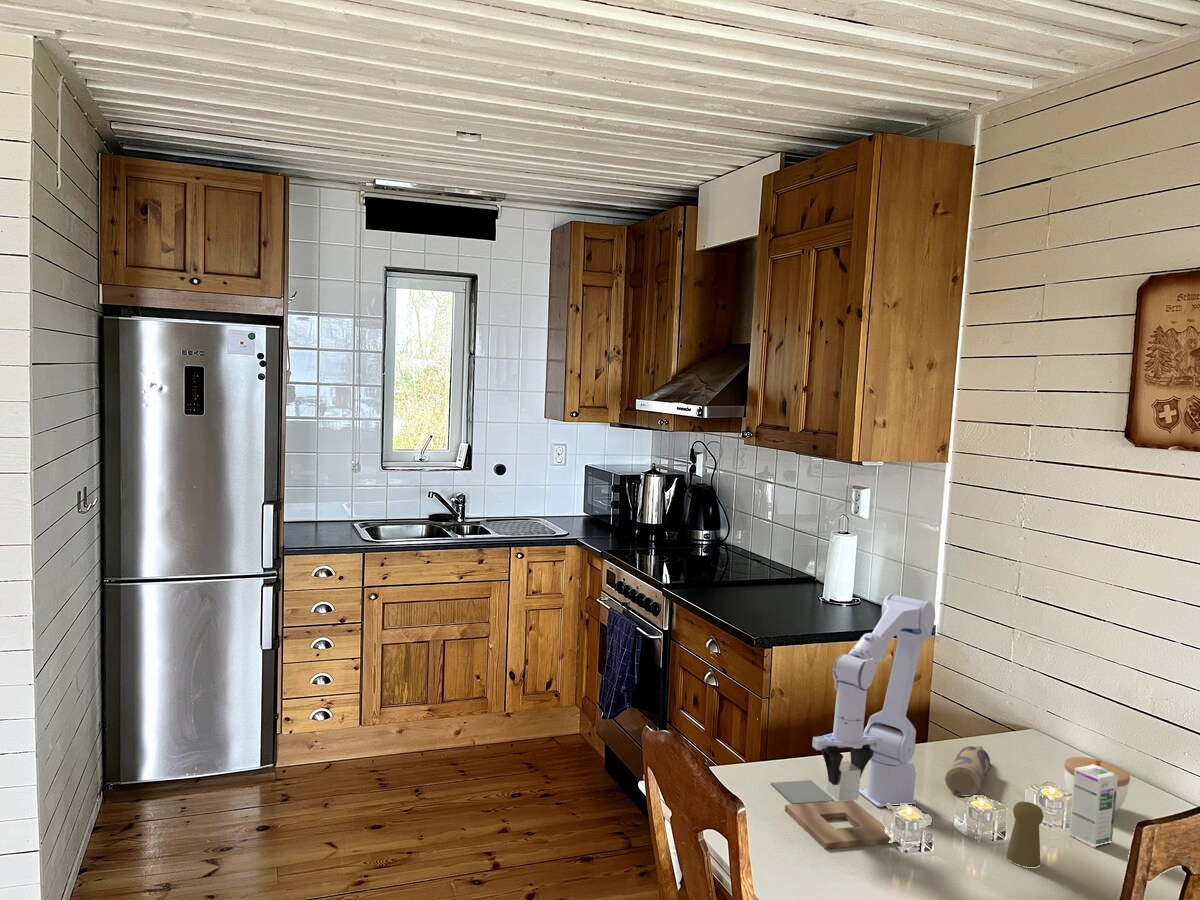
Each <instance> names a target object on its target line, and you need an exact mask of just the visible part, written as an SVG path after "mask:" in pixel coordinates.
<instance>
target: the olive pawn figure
mask: <svg viewBox="0 0 1200 900" xmlns="http://www.w3.org/2000/svg"><path fill="white" fill-rule="evenodd" d="M1012 813H1013V817H1014V819H1015V820H1014V824H1013V828H1012V831H1011V835H1010V839H1009V843H1008V845H1007V846H1008V847H1007V852H1006V855H1007V858H1008V859H1009V860H1011V861H1012V862H1014V863H1016V864H1019V865H1021V866H1025V867H1026V866H1027V867H1037V866H1039V865H1040V864H1041V842H1040V841H1041V840H1040V839H1041V838H1040V825H1041V824H1042V822H1043V821H1044V812H1043V810H1042V808H1041V807H1040V806H1039V805H1037V804H1034V803H1032V802H1029V801H1019V802H1018V801H1017V803H1015V805H1014V806H1013V810H1012ZM1006 855H1005V856H1006ZM1007 858H1006V859H1007ZM1008 859H1007V860H1008ZM1009 860H1008V861H1009Z"/></svg>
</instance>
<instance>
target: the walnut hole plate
mask: <svg viewBox="0 0 1200 900" xmlns="http://www.w3.org/2000/svg"><path fill="white" fill-rule="evenodd" d="M784 811H785V812H786V813H787V814H788V815H789V816H790V817H791V818H792V819H793V820H794V821H795V822H796V823H797V824H798V825H799V826H800V827H801V828H802V829H804V831H805V832H806V833H808V835H810V836H811V837H812V838H813V839H814V840H815V841H816V842H817V843H818V844H819V845H820V844H821V845H822V846H823V847H824V848H823V847H822V848H823V849H824V850H831V849H830V848H833V849H841V847H845V848H852V847H851V846H856V847H863V846H862V845H867V846H872V845H871V844H879V845H886V844H885V843H888V842H889V840H890V837H889V836H888V835H887V834H885V831H884V830H885V827H886V826H885V825H884V824H883V823H882V822H880V821H879V820H878V819H877V818H876V817H874V816H873V815H871V813H869V812H868V811H867V810H866V809H865V808H863V807H862V806H860V805H859V804H858V803H857V802H856V801H855V800H842V801H838V800H837V801H836V800H835V801H832V802H817V803H803V804H791V803H790V804H784ZM833 818H840V819H845V820H846V819H847V820H848V821H849V822H850V825H852V826H851V827H850V826H849V827H840V828H839V827H838V828H836V827H834V826H833V825H832V824H831V823H829V822H828V821H827V820H834V819H833ZM825 819H827V820H825ZM847 820H846V821H847ZM848 821H847V822H848ZM849 822H848V823H849ZM860 845H861V846H860Z"/></svg>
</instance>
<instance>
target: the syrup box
mask: <svg viewBox="0 0 1200 900" xmlns="http://www.w3.org/2000/svg"><path fill="white" fill-rule="evenodd" d="M1117 781H1118V775H1117V774H1116V773H1114V772H1112V771H1110V770H1107V769H1105V768H1102V767H1100V766H1096V765H1093V764H1092V765H1089V766H1084V767H1079V768H1078V767H1077V768H1075V773H1074V783H1073V794H1072V800H1071V808H1070V819H1069V830H1068V834H1069V833H1071V834H1073V835H1074V836H1077V837H1079V838H1081V839H1083V840H1085V841H1087V842H1090V843H1092V844H1095V845H1096V844H1101V843H1105V842H1109V841H1112V842H1113V836H1114V835H1113V834H1114V821H1115V813H1116V812H1115V803H1116V792H1117Z"/></svg>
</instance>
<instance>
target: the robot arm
mask: <svg viewBox="0 0 1200 900" xmlns="http://www.w3.org/2000/svg"><path fill="white" fill-rule="evenodd" d="M935 620H936V611H935V606H934V605H933V603H932V602H931V601H928V600H926V601H925V600H921V599H917V598H912V597H911V598H910V597H907V596H901V595H897V594H895V593H888V595H887V596H885V598H884V600H883V603H882V605H881V617H880V619H879V621H878V623H877V624H876V626H874V628H873V631H872V632H868V633H867V632H866V633H864V634H863V635H862V636H861V637H860V639H859V640H857V642H856V644H855V645H854V646H853V647H852V648H851V649H850V651H849V652H848V654H847V653H846V654H843V655H839V656H838V657H837V658H836V659H835V663H834V666H833V669H832V677H833V681H834V690H835V691H836V698H835V706H834V707H835V708H834V716H833V717H834V719H833V731H832V732H831V733H828V734H824V735H821V736H820V735H818V736H813V737H812V742H811V743H812V746H811V747H812V748H814V749H815V750H816V751H820V752H821V754H822V757H823V760H824V762H825V766H826V772H827V781H828V780H829V782H830V783H832V784H833V785H837V782H838V775H839V768H840V764H841V761H843V758H844V755H843V754H842V753H841V752H840V749H842V748H849V752H850V762H851V763H852V764H853V765H855V766H856V767H857V768H859V769H860V770H861V774H860V779H861V778H862V776H863V774H864V773H863V772H864V770H865V769H866V768H865V767H866V766H867V765H868V769H867V770H868V771H867V779H866V780H867V783H866V788H859V794H860V795H862V796H863V797H864V798H866V799H867V800H868V801H869V802H870V803H872V804H873V805H875V806H876V807H878V808H885V807H884V806H885V805H886V804H887V803H890V804H900V803H912V804H915V805H916V801H914V797H915V788H916V787H915V786H916V776H917V773H916V768H915V765H914V763H913V762H912V758H913V756H914V754H915V749H916V735H917V729H916V728H915V726H914V725H913V723H912V722H911V721H910V719H909V718H908V717H907V713H908V708H909V704H910V698H911V695H912V690H913V685H914V682H915V677H916V673H917V672H916V671H917V667H918V664H919V659H920V655H921V650H922V646H923V643H924V642H927V641H930V639H931V636H932V633H933V630H934V624H935ZM894 637H896V638H897V646H896V651H895V654H894V658H893V662H892V667H891V671H890V675H889V680H888V684H887V690H886V694H885V697H884V703H883V707H882V709H881V710H880V711H878V712H876V713H874V714H872V715H870V716H869V718H868V721H867V725H866V726H865V725H864V724H865V715H866V704H867V703H866V702H867V693H868V689H869V688H870V686H872V683H873V681H874V678H875V677H874V676H875V674H876V672H877V667H878V665H879V664H880V663H881V662H882V660H883V659H884V657H886V655H887V653H888V644H889V642H890V641H891V640H892V639H894ZM885 725H887V726H890V727H887V726H885ZM864 726H865V728H864ZM891 727H893V728H896V729H893V728H891ZM897 729H899V730H897Z"/></svg>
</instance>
